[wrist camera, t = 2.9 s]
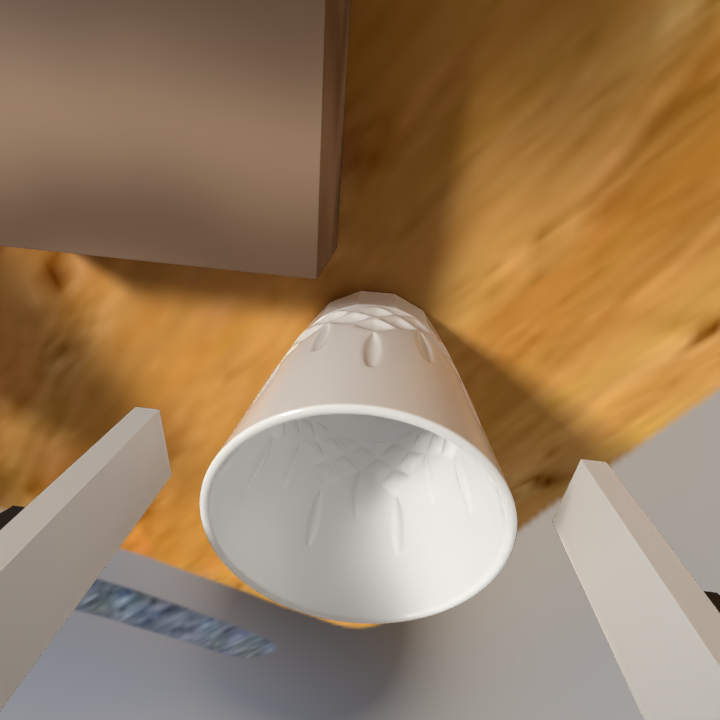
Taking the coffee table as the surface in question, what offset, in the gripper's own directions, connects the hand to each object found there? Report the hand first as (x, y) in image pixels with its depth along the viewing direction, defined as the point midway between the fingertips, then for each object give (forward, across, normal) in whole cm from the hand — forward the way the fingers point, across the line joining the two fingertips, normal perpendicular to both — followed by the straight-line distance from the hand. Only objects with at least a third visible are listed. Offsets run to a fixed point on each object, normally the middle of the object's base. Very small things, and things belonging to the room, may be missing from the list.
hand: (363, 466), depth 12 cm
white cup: (+7, 0, 0) cm, 7 cm away
